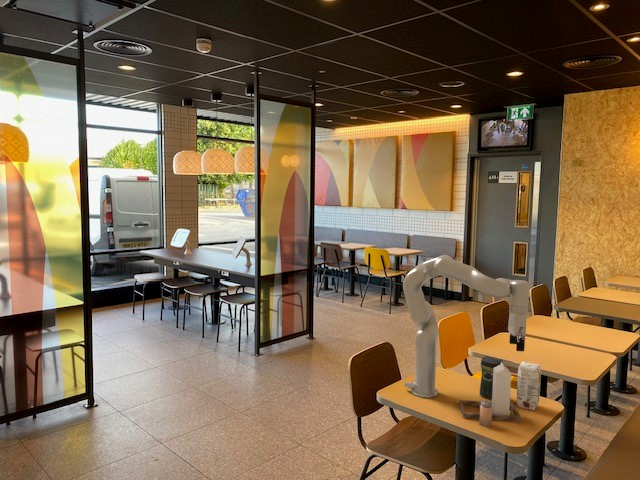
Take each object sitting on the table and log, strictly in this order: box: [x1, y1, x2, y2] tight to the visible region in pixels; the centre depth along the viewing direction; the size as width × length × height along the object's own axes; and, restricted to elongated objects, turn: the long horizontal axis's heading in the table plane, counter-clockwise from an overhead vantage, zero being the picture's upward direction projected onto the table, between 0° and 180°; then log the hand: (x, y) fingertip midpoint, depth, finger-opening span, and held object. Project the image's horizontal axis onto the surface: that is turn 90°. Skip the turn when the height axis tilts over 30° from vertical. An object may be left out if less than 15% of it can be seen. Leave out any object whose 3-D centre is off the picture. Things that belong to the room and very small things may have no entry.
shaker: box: [479, 400, 493, 428], centre depth 193 cm, size 5×5×9 cm
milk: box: [491, 362, 512, 415], centre depth 203 cm, size 6×6×22 cm
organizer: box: [458, 399, 522, 423], centre depth 204 cm, size 23×13×2 cm, turn 82°
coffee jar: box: [479, 355, 504, 401], centre depth 220 cm, size 10×8×19 cm
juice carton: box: [516, 361, 542, 411], centre depth 210 cm, size 8×9×19 cm
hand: (516, 347), depth 208 cm, fingers open, 9 cm apart
